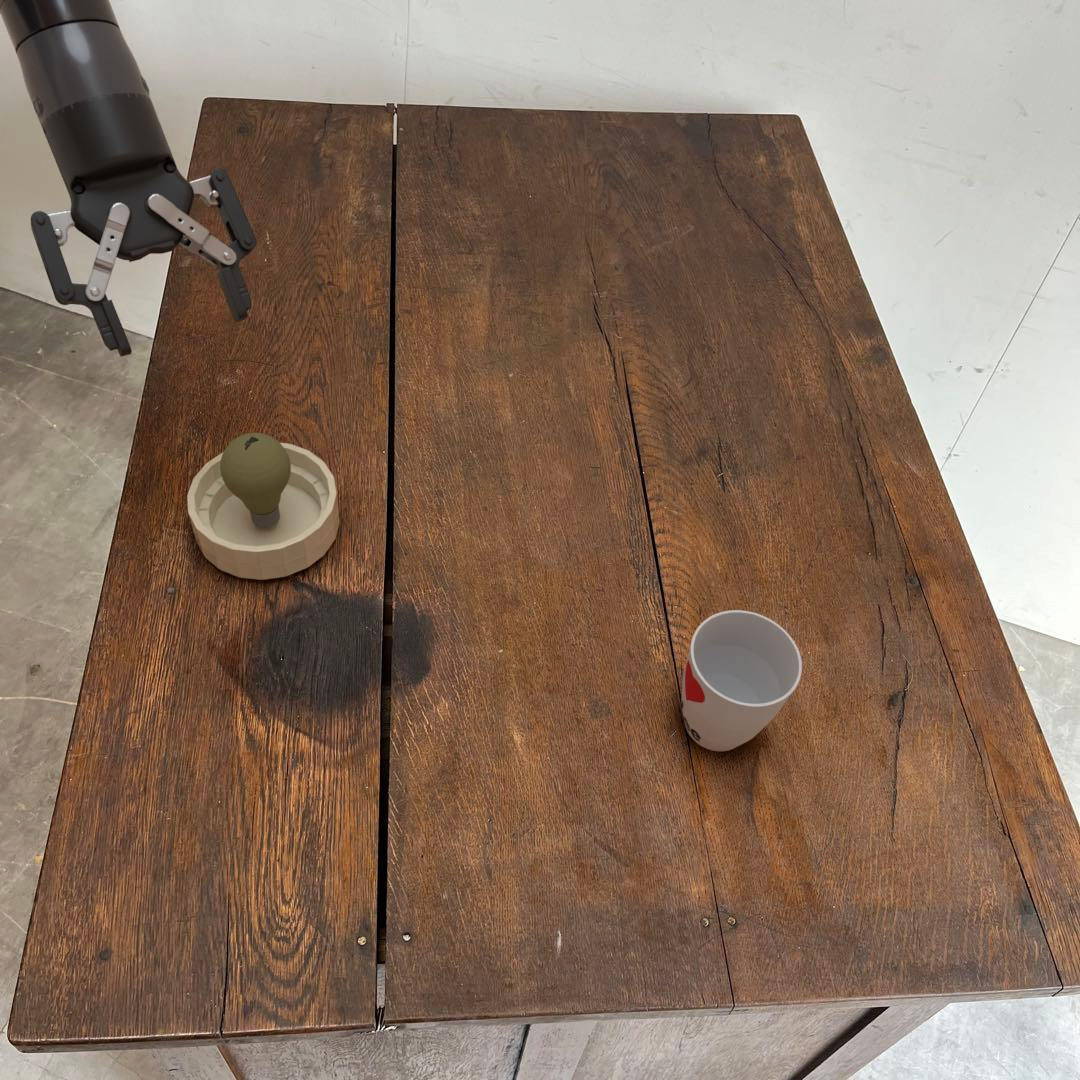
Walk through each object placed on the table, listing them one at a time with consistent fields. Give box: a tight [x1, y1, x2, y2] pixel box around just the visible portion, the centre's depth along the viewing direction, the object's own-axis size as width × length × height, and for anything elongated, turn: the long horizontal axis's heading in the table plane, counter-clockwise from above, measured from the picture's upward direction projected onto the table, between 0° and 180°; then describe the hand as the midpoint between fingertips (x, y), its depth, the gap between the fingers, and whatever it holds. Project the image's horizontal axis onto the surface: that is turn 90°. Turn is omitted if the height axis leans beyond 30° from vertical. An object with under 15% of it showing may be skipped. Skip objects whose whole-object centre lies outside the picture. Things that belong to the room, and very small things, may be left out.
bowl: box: [186, 442, 341, 581], centre depth 89 cm, size 12×12×4 cm
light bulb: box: [220, 432, 291, 528], centre depth 86 cm, size 6×6×10 cm
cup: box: [680, 609, 803, 752], centre depth 78 cm, size 8×8×10 cm
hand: (185, 336), depth 74 cm, fingers open, 8 cm apart
